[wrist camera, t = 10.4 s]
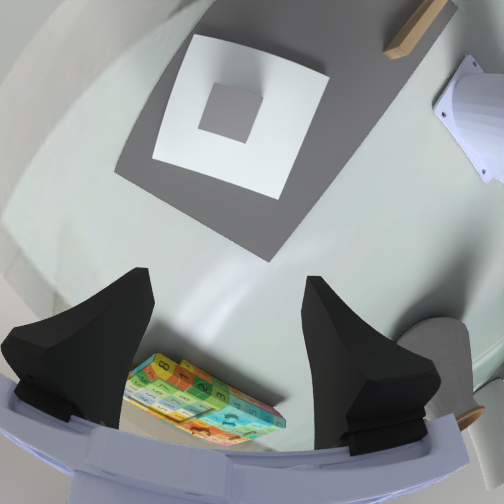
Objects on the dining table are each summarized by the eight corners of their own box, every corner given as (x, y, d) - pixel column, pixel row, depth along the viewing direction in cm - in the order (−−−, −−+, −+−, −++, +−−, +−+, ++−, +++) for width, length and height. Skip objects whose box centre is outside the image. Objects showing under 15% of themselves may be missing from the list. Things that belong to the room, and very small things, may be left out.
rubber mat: (455, 8, 10) (458, 7, 9) (268, 259, 22) (268, 262, 22) (319, -86, 6) (320, -88, 6) (116, 170, 19) (113, 172, 18)
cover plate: (325, 79, 15) (348, 68, 10) (277, 194, 19) (282, 222, 15) (198, 38, 14) (176, 15, 9) (158, 155, 18) (126, 171, 13)
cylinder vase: (502, 384, 38) (533, 457, 16) (464, 413, 42) (488, 488, 20) (500, 370, 34) (538, 457, 12) (456, 405, 39) (485, 494, 17)
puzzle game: (227, 450, 34) (109, 396, 27) (229, 426, 38) (120, 369, 31) (286, 433, 30) (150, 367, 23) (284, 404, 34) (162, 334, 27)
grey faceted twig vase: (434, 288, 23) (505, 402, 10) (468, 324, 26) (517, 411, 13) (304, 396, 32) (312, 499, 19) (356, 411, 35) (372, 494, 22)
